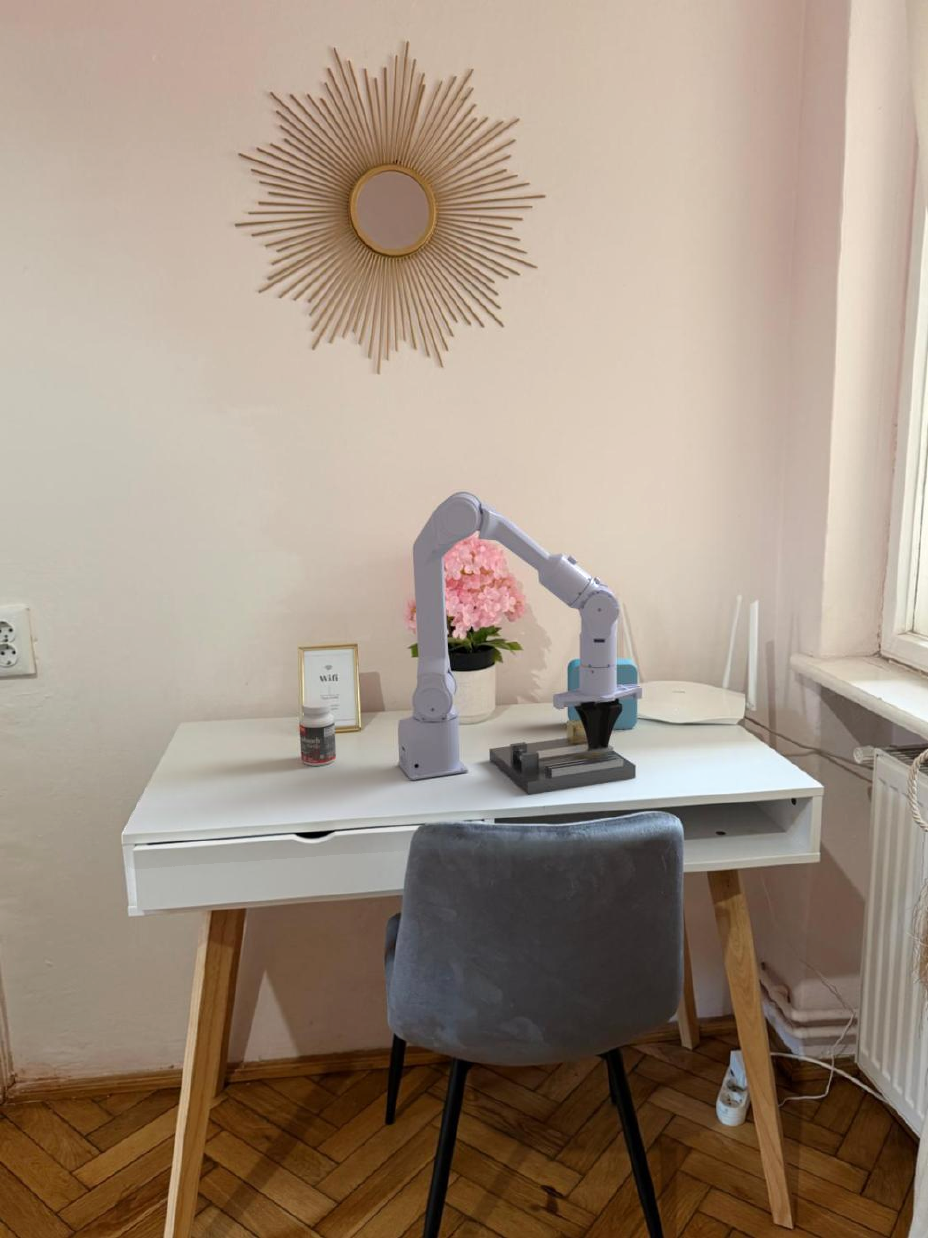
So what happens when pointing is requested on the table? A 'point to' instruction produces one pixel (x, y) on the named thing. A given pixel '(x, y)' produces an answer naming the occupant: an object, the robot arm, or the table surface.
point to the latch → (576, 731)
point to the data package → (625, 676)
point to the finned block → (559, 767)
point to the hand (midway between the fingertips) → (598, 746)
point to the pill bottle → (317, 733)
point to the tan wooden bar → (568, 752)
